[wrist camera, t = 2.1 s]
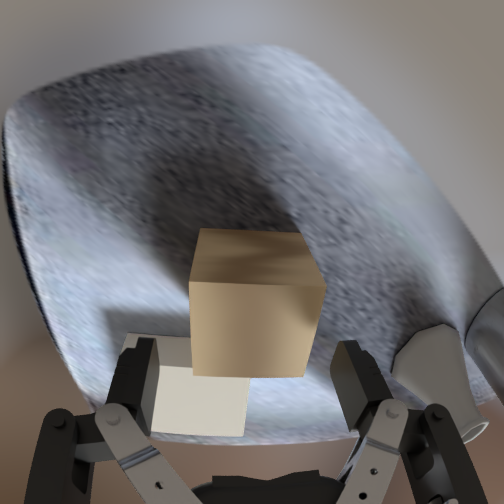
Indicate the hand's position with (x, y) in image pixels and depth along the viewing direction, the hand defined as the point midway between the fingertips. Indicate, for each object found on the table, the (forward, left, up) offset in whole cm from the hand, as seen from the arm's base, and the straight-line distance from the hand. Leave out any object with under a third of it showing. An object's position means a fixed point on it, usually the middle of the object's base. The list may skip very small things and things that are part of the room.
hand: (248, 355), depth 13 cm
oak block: (0, 0, -8) cm, 8 cm away
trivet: (+4, +10, -8) cm, 13 cm away
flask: (-17, +8, -8) cm, 21 cm away
